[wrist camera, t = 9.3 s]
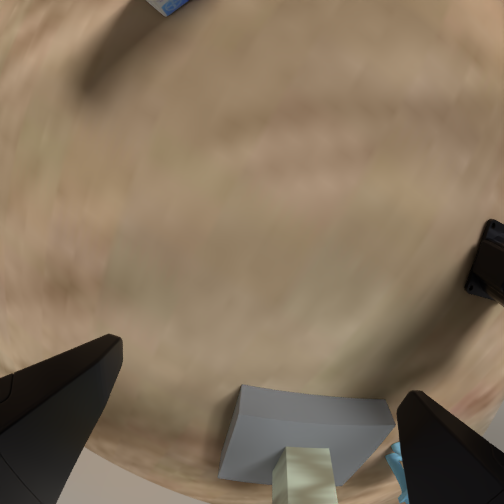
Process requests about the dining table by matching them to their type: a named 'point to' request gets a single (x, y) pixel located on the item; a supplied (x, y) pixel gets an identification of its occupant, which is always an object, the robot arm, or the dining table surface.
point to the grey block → (300, 432)
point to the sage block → (304, 477)
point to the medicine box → (167, 5)
